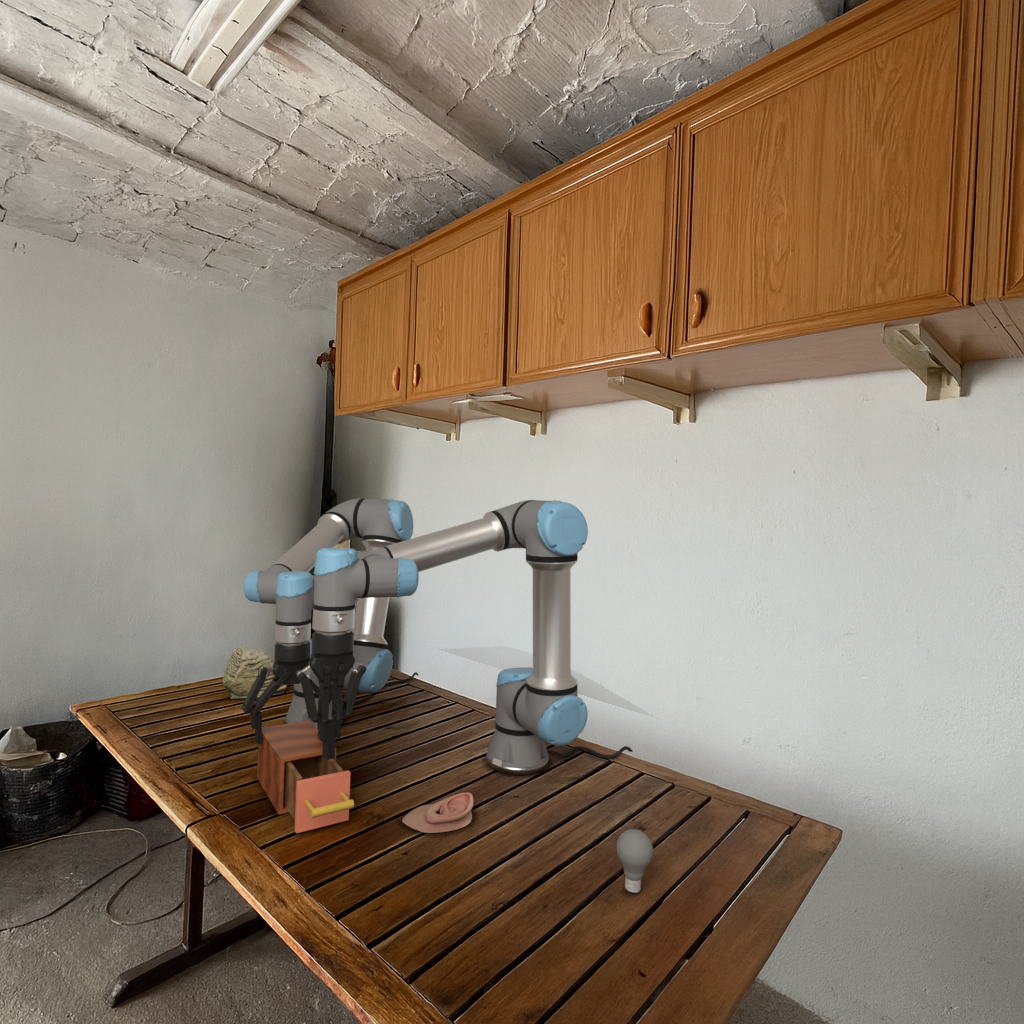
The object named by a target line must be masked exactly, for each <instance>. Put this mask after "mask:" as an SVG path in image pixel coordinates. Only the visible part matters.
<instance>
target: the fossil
mask: <svg viewBox="0 0 1024 1024" xmlns="http://www.w3.org/2000/svg"><path fill="white" fill-rule="evenodd" d="M273 665H274V660H273V659H272V658H271V657H270V656H269V655H268V654H267V653H266V652H265V650H264V649H263V648H260V647H258V648H251V647H247V646H246V647H245V646H238V647H237V648H236V649H235V650H233V651H232V653H231V656H230V657H229V659H228V660H227V663H226V666H225V668H224V671H223V675H222V676H223V677H222V685H223V687H224V688H225V690H226V691H228V693H229V698H230V699H246V697H247V695H248V693H249V691H250V689H251V688H252V686H253V684H254V682H255V680H256V678H257V676H258V670H259V667H260V666H264V667H273ZM274 677H275V675H274V674H273V672H272V673H270V675H269V676H268V677H266V680H265V682H264V684H263V686H262V688H261V690H260V692H259V694H258V696H257V698H259V697H260V695H261V694H262V693H263V692H264V691H265V689H266V688H267V687H268V686H269V684H270V683H271V681H272V680H273V678H274ZM287 687H288V685H284V684H282V686H281V687H280V688H279V689H277V690H276V692H275V693H274V694H273V695H272V696H275V695H281V694H284V693H285V691H286V689H287Z"/></svg>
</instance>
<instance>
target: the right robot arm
mask: <svg viewBox="0 0 1024 1024" xmlns="http://www.w3.org/2000/svg"><path fill="white" fill-rule="evenodd" d="M585 517H586V516H585V515H584V513H582V511H581V510H580V509H579V508H578V507H577V506H576V505H574V504H572V503H570V502H566V501H562V500H555V499H553V500H539V499H538V500H537V499H527V500H521V501H518V502H515V503H512V504H509V505H506V506H504V507H501V508H497V509H493V510H490V511H488V512H485V514H484V515H483V516H482V518H478V519H476V520H472V521H468V522H464V523H462V524H458V525H455V526H451V527H448V528H444V529H441V530H437V531H433V532H430V533H426V534H422V535H420V536H416V537H413V538H411V539H409V540H406V541H402V542H399V543H395V544H392V545H388V546H385V547H382V548H378V549H374V550H371V551H366V550H363V549H362V550H356V549H355V548H352V547H351V548H350V547H334V548H322V549H320V550H319V551H318V552H317V554H316V561H315V566H314V571H313V575H314V608H313V610H312V623H311V629H312V630H314V631H313V633H311V640H312V655H311V658H310V660H309V662H308V666H307V667H305V668H304V669H302V670H297V671H296V676H297V677H298V679H299V680H300V682H301V685H302V689H303V694H304V699H305V703H306V708H307V713H308V717H309V719H310V720H311V721H312V722H313V723H318V738H319V740H320V741H321V742H322V741H323V750H322V755H323V756H324V757H325V758H326V760H329V759H334V758H335V748H336V739H337V740H338V739H340V738H341V731H342V723H343V722H344V720H345V719H346V718H348V719H349V718H350V717H352V713H353V711H354V706H355V704H354V703H355V701H356V699H357V694H358V692H359V691H358V688H359V684H360V680H361V678H362V676H363V674H364V673H365V671H366V667H365V666H364V665H362V664H361V663H357V662H356V661H355V657H354V655H353V646H354V633H353V632H352V630H353V628H354V619H355V613H356V600H357V599H358V598H377V597H389V598H397V599H399V598H401V597H410V596H412V595H414V594H415V593H416V592H417V589H418V587H419V578H420V576H419V574H420V573H421V572H423V571H427V570H430V569H433V568H436V567H440V566H443V565H446V564H449V563H452V562H455V561H459V560H461V559H465V558H468V557H472V556H475V555H478V554H481V553H484V552H487V551H491V550H493V551H494V552H496V553H497V552H502V551H505V550H510V549H525V562H526V563H527V564H528V565H529V566H530V567H531V569H532V667H528V666H526V667H525V666H524V667H523V666H521V667H508V668H505V669H502V670H500V671H499V672H498V674H497V679H496V694H495V695H496V697H495V723H494V725H495V726H494V732H493V735H492V738H491V740H490V743H489V744H488V745H489V746H488V748H487V751H486V761H485V762H486V764H487V766H489V768H490V769H492V770H494V771H496V772H499V773H502V774H506V775H511V776H512V775H513V776H529V775H535V774H539V773H541V772H544V770H546V769H547V768H548V766H549V759H550V757H549V756H550V755H552V756H553V755H554V756H558V757H561V758H568V757H570V756H571V755H572V754H573V753H574V752H575V751H585V752H587V753H590V754H592V755H593V756H596V757H598V758H602V759H615V758H616V757H619V756H620V755H621V754H622V753H623V752H624V751H628V752H629V753H633V749H632V748H631V747H629V746H627V745H624V746H622V747H621V748H619V750H617V752H614V753H612V754H603V753H600V752H598V751H596V750H593V749H591V748H590V747H587V746H580V745H576V746H575V745H574V746H572V747H571V748H570V749H569V750H568V752H566V753H562V752H559V751H556V750H550V749H548V748H547V745H546V743H548V744H550V745H552V746H555V747H556V746H557V747H563V746H566V745H569V744H571V743H572V742H574V741H576V739H577V738H578V737H579V735H580V734H581V733H583V732H584V729H585V727H586V725H587V721H588V714H589V713H588V712H589V711H588V707H587V705H586V703H585V701H584V700H583V698H581V697H579V696H578V695H579V694H578V679H577V678H576V677H575V676H574V675H573V674H572V662H571V661H572V651H571V650H572V634H571V633H572V630H571V629H572V603H571V602H572V595H571V594H572V569H573V566H574V565H576V564H577V563H578V558H579V557H578V554H579V552H581V551H582V549H583V548H584V547H583V546H584V545H586V543H587V540H588V535H589V528H588V527H589V526H588V523H587V520H586V518H585ZM350 669H351V672H352V673H351V675H350V679H349V683H348V686H347V690H345V694H344V690H343V686H344V678H345V676H346V675H347V673H348V672H349V671H350ZM312 671H313V673H314V674H315V675H316V677H317V678H318V679H319V703H318V713H317V708H316V703H315V698H314V694H313V689H312V685H311V682H310V679H311V677H312V676H311V672H312ZM331 681H332V683H333V690H332V719H329V720H328V717H329V693H330V687H331Z"/></svg>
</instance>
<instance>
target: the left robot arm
mask: <svg viewBox="0 0 1024 1024" xmlns="http://www.w3.org/2000/svg"><path fill="white" fill-rule="evenodd" d="M413 534H414V516H413V513H412V510H411V507H410V506H409V504H408V503H407V502H406V501H404V500H398V499H393V498H390V499H387V498H385V499H383V498H380V499H379V498H364V497H358V498H351V499H348V500H346V501H344V502H343V501H342V502H340V503H339V504H337V505H335V506H333V507H332V508H330V509H329V510H327V511H326V512H325V513H324V514H322V515H321V516H320V517H319V519H318V521H317V524H316V525H315V526H314V528H312V529H311V530H310V531H309V532H308V533H307V534H305V535H304V536H303V537H302V538H301V539H300V540H299V541H297V542H296V544H294V545H293V546H292V547H291V548H290V549H289V550H287V551H286V552H285V554H283V555H282V556H281V557H279V559H277V560H276V562H274V563H273V564H272V565H271V566H270V567H269V568H268V569H266V570H264V571H263V570H254V571H251V572H249V573H248V574H247V575H246V577H245V579H244V581H243V587H242V588H243V589H242V590H243V592H244V593H243V594H244V596H245V598H246V599H247V600H248V601H250V602H253V603H254V602H255V603H260V604H267V605H268V604H269V605H275V625H274V626H275V628H274V641H275V642H276V643H275V644H274V654H273V655H274V658H273V659H274V660H273V661H274V665H273V667H264V666H260V667H259V670H258V676H257V678H256V680H255V682H254V684H253V686H252V688H251V689H250V691H249V693H248V695H247V697H246V698H244V701H243V703H242V705H241V710H242V711H243V712H244V713H245V714H250V720H249V721H250V723H249V725H250V727H251V729H252V730H254V741H255V743H256V744H257V745H258V744H261V738H262V728H263V713H262V712H261V711H262V709H263V708H264V707H265V706H266V704H267V703H268V701H270V700H271V698H272V697H273V696H274V695H273V694H274V693H275V692H276V690H277V689H279V688H280V687H281V686H282V684H284V685H287V686H291V685H293V695H292V696H293V697H292V699H291V702H290V704H289V708H288V711H287V713H286V715H285V724H288V723H295V722H301V721H307V720H310V719H309V717H308V713H307V708H306V703H305V699H304V694H303V689H302V685H301V682H300V680H299V679H298V677H297V676H296V671H297V670H302V669H304V668H305V667H307V666H308V662H309V660H310V658H311V655H312V612H313V608H314V574H312V573H310V572H311V570H312V569H313V568H315V561H316V554H317V552H318V551H319V550H320V549H322V548H336V546H337V545H341V544H343V543H345V542H346V541H347V540H348V539H352V538H354V539H355V538H358V539H362V541H361V544H363V546H364V547H365V551H371V550H374V549H378V548H382V547H385V546H388V545H392V544H395V543H399V542H402V541H406V540H409V539H412V536H413ZM389 602H390V597H377V598H357V601H356V606H355V617H354V628H353V629H352V630H351V631H352V632H353V633H354V646H353V655H354V657H355V661H356V662H357V663H361V664H362V665H364V666H365V667H366V671H365V673H364V674H363V676H362V678H361V680H360V684H359V688H358V691H357V692H359V693H369V694H368V695H367V696H365V697H363V698H360V699H358V700H355V703H354V705H356V704H359V703H362V702H364V701H366V700H368V699H369V698H371V697H372V695H373V694H374V693H378V692H380V691H381V690H382V689H383V688H384V687H387V686H390V685H393V684H397V683H403V682H408V681H410V680H412V679H413V678H414V677H415V676H419V673H418V672H414V673H413V674H411V676H410V677H408V678H407V677H406V678H403V679H397V680H393V681H390V682H388V681H389V679H390V676H391V673H392V669H393V665H394V660H393V658H394V657H393V653H392V651H390V650H389V649H388V645H389V644H388V642H387V640H386V639H385V637H384V635H385V627H386V621H387V615H388V611H389V610H388V609H389ZM272 672H273V674H274V675H275V677H274V678H273V680H272V681H271V683H270V684H269V686H268V687H267V688H266V689H265V691H264V692H263V693H262V694H261V695H260V697H257V696H258V694H259V692H260V690H261V688H262V686H263V684H264V682H265V680H266V677H268V676H269V675H270V673H272ZM351 673H352V672H351V669H350V671H349V672H348V673H347V675H346V676H345V678H344V686H343V691H346V690H347V686H348V683H349V679H350V675H351ZM311 676H312V677H311V679H310V682H311V685H312V689H313V694H314V698H315V703H316V708H317V713H318V703H319V679H318V678H317V677H316V675H315V674H314V673H313V671H312V672H311ZM332 690H333V683H332V681H331V687H330V693H329V717H328V720H329V719H332ZM310 721H311V720H310ZM311 722H312V721H311ZM312 723H313V722H312ZM313 724H314V726H315V727H316V728H317V729H318V723H313Z"/></svg>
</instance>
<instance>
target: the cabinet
mask: <svg viewBox="0 0 1024 1024" xmlns="http://www.w3.org/2000/svg"><path fill="white" fill-rule="evenodd" d="M322 750H323V741H322V742H321V741H320V740H319V738H318V729H317V728H316V727H315V726H314V724H313V723H312V722H311V721H310V720H307V721H301V722H295V723H288V724H286V723H283V724H276V725H269V726H262V738H261V744H257V769H256V779H257V781H258V782H259V784H260V785H261V788H262V789H263V791H264V792H265V794H266V796H267V797H268V799H269V801H270V803H271V804H272V806H273V808H274V810H275V812H276V813H277V814H278V815H284V814H288V813H289V812H288V810H287V808H286V807H285V805H284V803H283V793H284V767H285V762H287V761H293V760H298V759H303V758H308V757H314V756H319V755H322ZM334 760H335V761H336V762H337V747H335V758H334ZM289 814H290V813H289Z"/></svg>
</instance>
